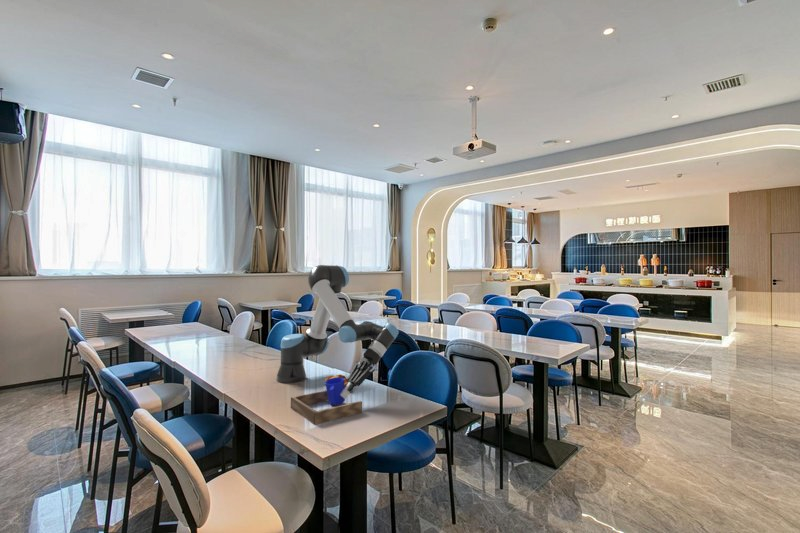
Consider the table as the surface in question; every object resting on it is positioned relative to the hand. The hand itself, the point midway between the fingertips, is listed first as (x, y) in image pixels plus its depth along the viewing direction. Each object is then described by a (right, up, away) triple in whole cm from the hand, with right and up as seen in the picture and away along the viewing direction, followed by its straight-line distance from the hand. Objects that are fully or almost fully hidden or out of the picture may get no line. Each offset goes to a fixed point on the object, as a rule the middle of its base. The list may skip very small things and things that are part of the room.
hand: (342, 396), depth 162 cm
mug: (-3, -4, +2) cm, 5 cm away
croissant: (-7, -5, +29) cm, 30 cm away
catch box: (-6, -4, -4) cm, 8 cm away
